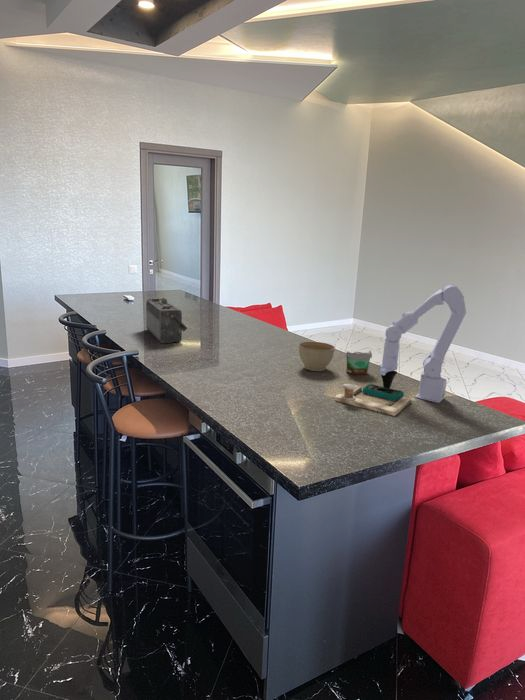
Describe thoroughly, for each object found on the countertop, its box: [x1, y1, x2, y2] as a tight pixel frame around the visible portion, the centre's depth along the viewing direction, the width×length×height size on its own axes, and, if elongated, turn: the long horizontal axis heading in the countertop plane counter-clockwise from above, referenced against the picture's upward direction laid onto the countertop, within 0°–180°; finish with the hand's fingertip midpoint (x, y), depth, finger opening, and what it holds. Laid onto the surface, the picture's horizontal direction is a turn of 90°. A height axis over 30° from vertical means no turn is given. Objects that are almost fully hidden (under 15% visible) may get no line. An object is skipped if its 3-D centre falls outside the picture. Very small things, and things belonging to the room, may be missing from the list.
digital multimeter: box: [362, 383, 405, 402], centre depth 188 cm, size 7×15×3 cm, turn 55°
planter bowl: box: [298, 341, 336, 372], centre depth 218 cm, size 16×16×11 cm
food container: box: [344, 350, 373, 377], centre depth 213 cm, size 12×6×10 cm, turn 105°
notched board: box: [334, 383, 412, 417], centre depth 180 cm, size 23×18×6 cm
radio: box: [145, 297, 188, 344], centre depth 266 cm, size 38×14×20 cm, turn 25°
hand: (386, 388), depth 192 cm, fingers closed
